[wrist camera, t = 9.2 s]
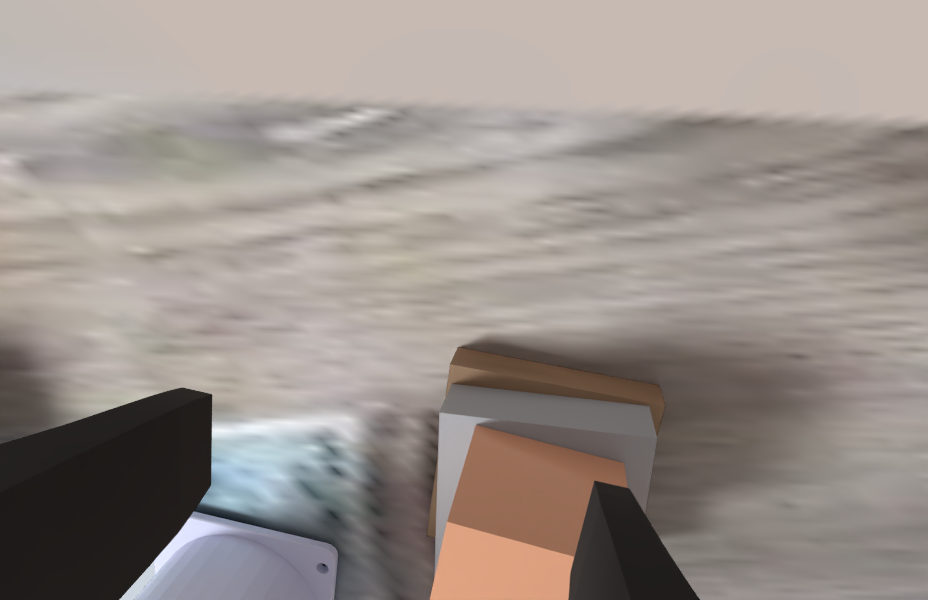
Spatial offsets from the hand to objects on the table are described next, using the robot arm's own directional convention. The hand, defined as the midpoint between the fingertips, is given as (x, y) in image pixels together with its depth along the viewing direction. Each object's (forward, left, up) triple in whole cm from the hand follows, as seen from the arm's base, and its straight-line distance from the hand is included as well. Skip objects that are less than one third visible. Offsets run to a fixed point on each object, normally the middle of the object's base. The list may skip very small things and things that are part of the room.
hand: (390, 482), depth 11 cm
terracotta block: (-5, -3, -7) cm, 9 cm away
